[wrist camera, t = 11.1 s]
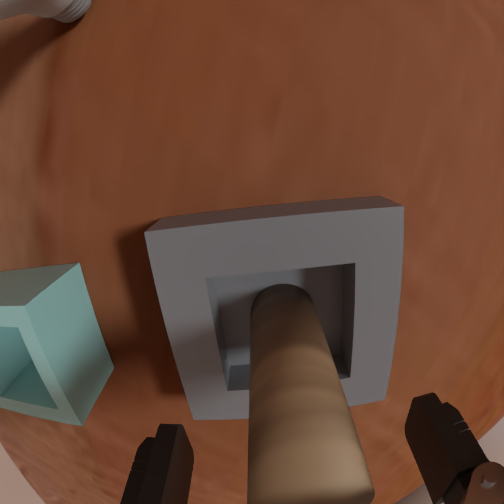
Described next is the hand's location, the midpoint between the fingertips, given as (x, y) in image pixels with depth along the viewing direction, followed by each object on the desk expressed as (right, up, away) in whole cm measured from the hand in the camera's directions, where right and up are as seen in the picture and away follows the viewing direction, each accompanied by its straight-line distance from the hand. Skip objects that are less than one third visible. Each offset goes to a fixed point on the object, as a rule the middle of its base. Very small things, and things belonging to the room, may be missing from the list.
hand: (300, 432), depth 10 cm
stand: (0, +3, +9) cm, 10 cm away
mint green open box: (-16, +1, +10) cm, 19 cm away
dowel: (0, +3, +8) cm, 9 cm away
